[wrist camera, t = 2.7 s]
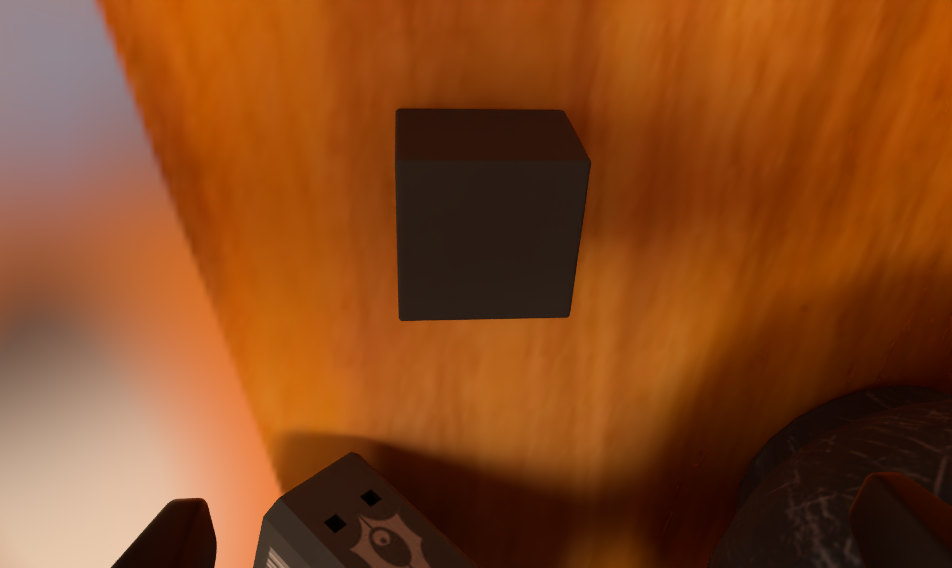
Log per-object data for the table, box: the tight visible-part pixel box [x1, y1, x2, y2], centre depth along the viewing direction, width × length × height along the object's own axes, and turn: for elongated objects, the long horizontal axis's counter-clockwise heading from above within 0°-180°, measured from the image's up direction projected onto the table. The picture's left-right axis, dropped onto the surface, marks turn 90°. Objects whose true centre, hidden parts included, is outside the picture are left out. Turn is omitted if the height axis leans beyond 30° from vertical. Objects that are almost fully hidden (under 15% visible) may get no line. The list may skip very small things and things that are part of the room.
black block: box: [395, 109, 591, 321], centre depth 17 cm, size 4×4×3 cm
